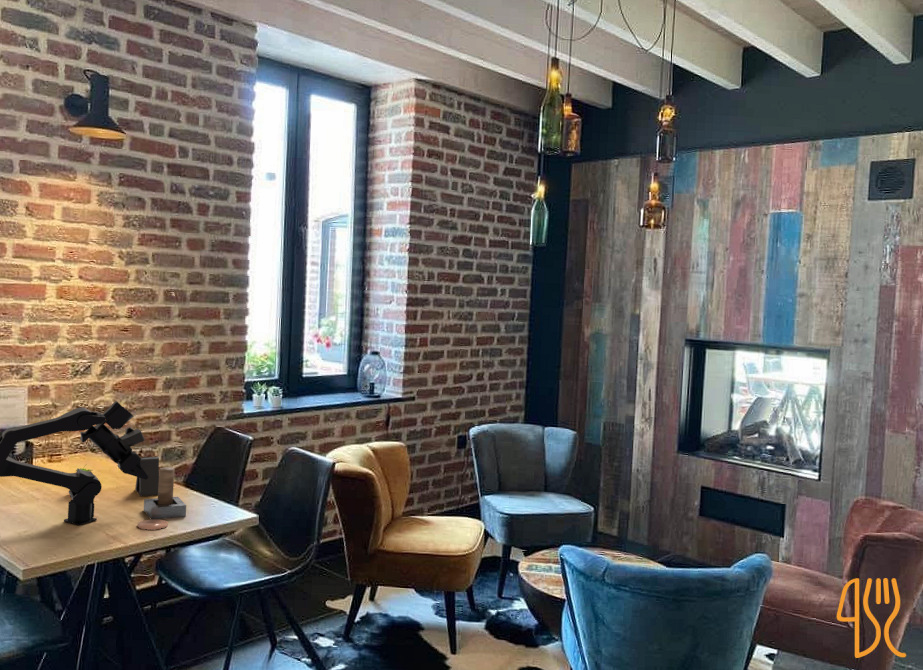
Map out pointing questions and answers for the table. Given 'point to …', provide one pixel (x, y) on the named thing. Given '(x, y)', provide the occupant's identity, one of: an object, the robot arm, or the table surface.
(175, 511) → the metal socket
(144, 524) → the terracotta coaster
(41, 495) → the table surface
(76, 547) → the table surface
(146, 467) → the door stopper
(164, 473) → the walnut peg
